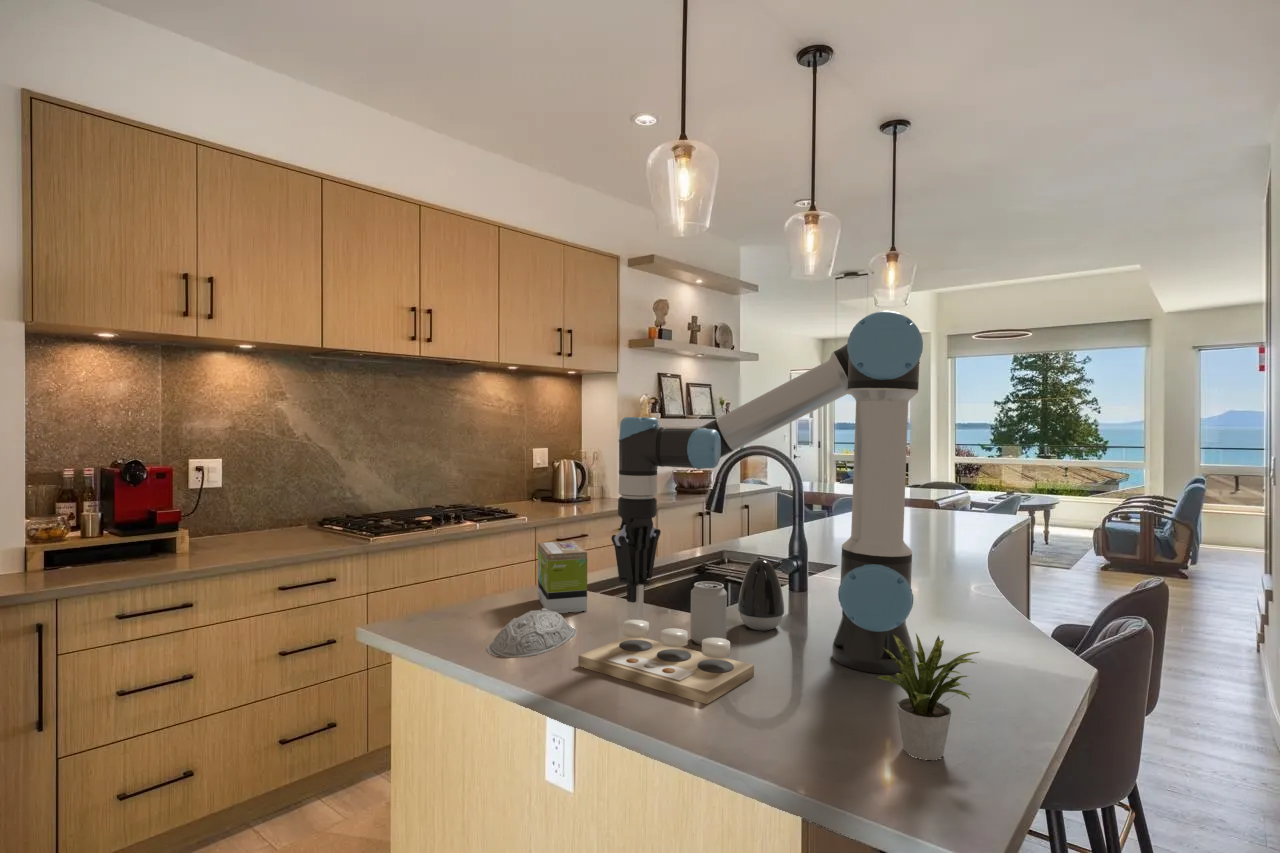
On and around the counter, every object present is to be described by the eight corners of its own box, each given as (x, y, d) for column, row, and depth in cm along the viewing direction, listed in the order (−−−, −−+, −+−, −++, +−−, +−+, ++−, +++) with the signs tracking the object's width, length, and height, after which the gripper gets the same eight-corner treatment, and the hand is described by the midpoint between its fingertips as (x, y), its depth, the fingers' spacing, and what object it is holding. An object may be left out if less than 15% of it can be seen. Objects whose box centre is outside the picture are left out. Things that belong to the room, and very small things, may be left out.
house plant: (989, 792, 86) (991, 661, 86) (871, 770, 91) (873, 646, 91) (979, 743, 99) (980, 629, 99) (877, 726, 104) (878, 618, 104)
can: (724, 648, 140) (725, 589, 140) (687, 645, 142) (688, 586, 141) (727, 637, 147) (728, 580, 147) (692, 634, 149) (693, 578, 149)
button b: (692, 642, 130) (692, 631, 130) (677, 649, 126) (677, 638, 126) (670, 637, 133) (670, 626, 133) (655, 643, 129) (655, 632, 129)
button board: (753, 676, 125) (754, 663, 125) (706, 704, 112) (707, 690, 112) (631, 644, 142) (631, 633, 142) (578, 666, 129) (578, 653, 129)
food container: (591, 625, 154) (588, 595, 154) (539, 669, 130) (535, 633, 130) (529, 625, 159) (526, 596, 159) (468, 667, 135) (465, 633, 135)
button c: (653, 633, 135) (654, 622, 135) (638, 639, 131) (638, 628, 131) (633, 628, 138) (633, 618, 138) (617, 634, 134) (617, 623, 134)
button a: (735, 652, 124) (735, 641, 124) (720, 659, 120) (720, 648, 120) (711, 646, 127) (711, 635, 127) (696, 653, 123) (696, 642, 123)
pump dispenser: (794, 631, 152) (794, 562, 152) (752, 636, 148) (753, 565, 148) (768, 618, 161) (769, 553, 161) (729, 623, 158) (730, 556, 157)
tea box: (536, 599, 177) (537, 541, 177) (575, 596, 180) (575, 540, 180) (546, 615, 163) (547, 552, 162) (588, 612, 166) (589, 550, 166)
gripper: (642, 492, 142) (640, 607, 142) (600, 497, 131) (598, 621, 132) (672, 495, 137) (670, 614, 137) (632, 500, 127) (629, 629, 127)
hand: (635, 617), depth 135 cm, fingers closed
